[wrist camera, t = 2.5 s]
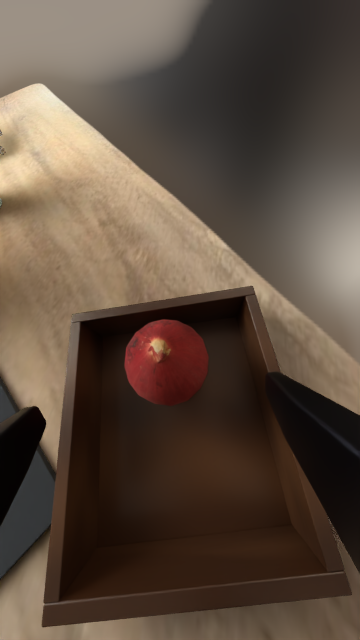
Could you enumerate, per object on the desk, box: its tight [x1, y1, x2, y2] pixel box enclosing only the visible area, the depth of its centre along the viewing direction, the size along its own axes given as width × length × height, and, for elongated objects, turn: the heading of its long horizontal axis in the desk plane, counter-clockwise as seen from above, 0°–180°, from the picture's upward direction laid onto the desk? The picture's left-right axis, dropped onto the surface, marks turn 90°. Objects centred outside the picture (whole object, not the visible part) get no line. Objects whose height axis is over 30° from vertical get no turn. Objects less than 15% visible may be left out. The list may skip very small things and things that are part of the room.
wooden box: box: [42, 286, 352, 627], centre depth 14 cm, size 17×15×4 cm
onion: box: [124, 319, 209, 406], centre depth 14 cm, size 6×6×8 cm
